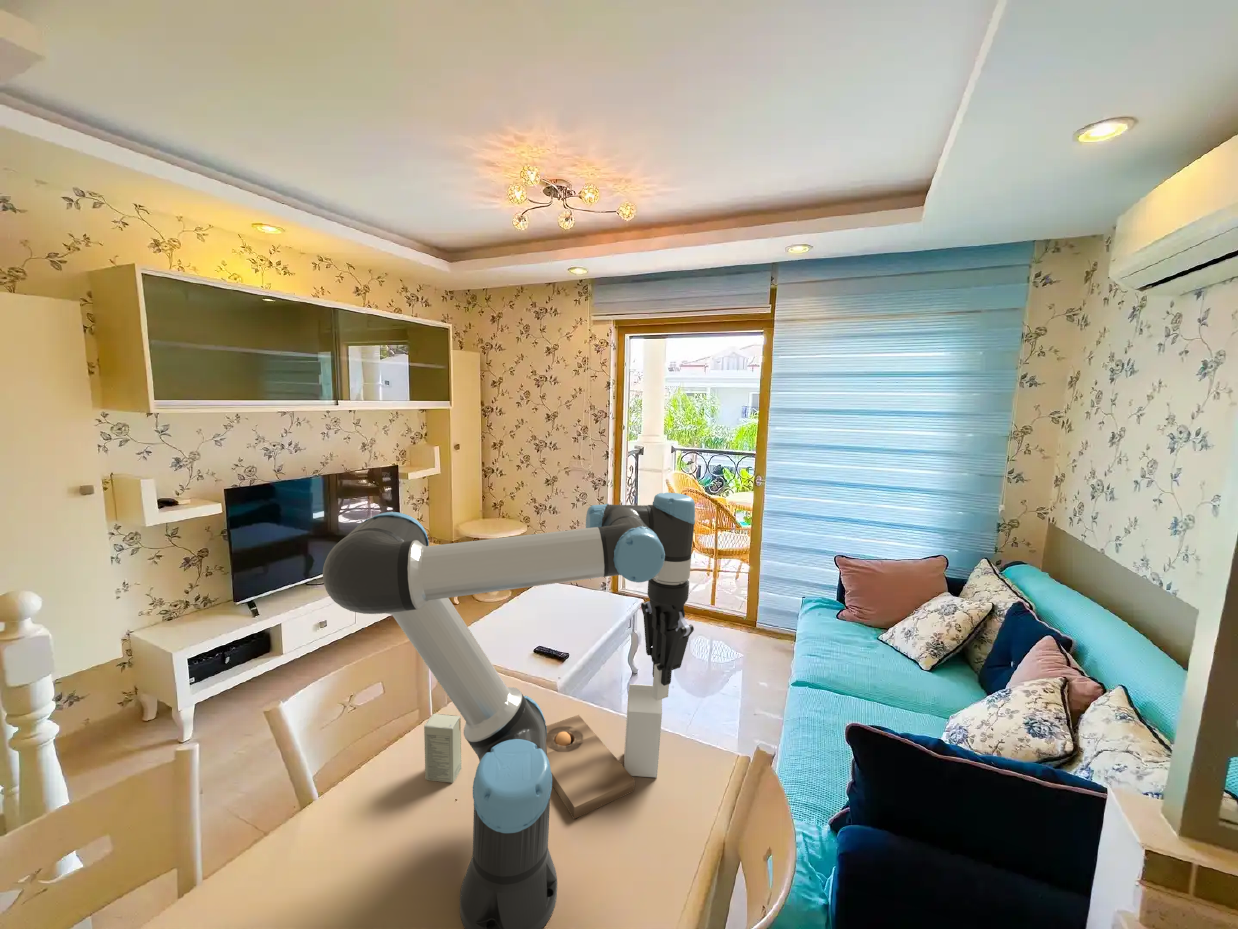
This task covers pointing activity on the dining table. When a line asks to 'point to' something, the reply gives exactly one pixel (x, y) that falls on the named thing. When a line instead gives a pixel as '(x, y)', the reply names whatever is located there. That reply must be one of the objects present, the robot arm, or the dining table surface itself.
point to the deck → (584, 768)
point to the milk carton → (642, 731)
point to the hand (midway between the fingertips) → (660, 696)
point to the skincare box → (442, 747)
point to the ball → (563, 739)
